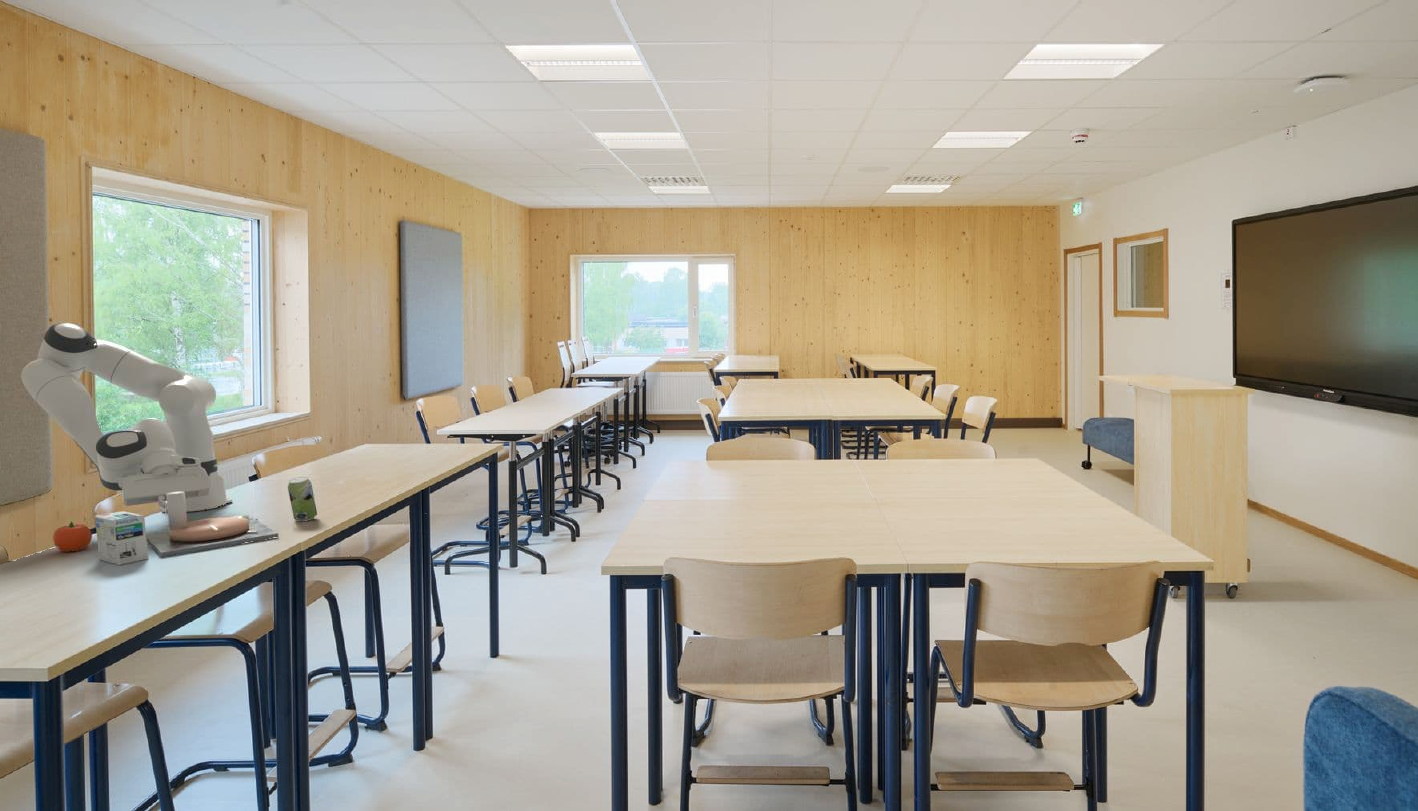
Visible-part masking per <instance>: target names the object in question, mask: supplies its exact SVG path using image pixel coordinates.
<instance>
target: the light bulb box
mask: <svg viewBox="0 0 1418 811" xmlns="http://www.w3.org/2000/svg"><path fill="white" fill-rule="evenodd" d="M94 521H95V528H96V530H95V531H96V538H97V540H96V541H97V547H98V558H99V559H100V560H101V561H104V562H108V563H111V564H114V565H118V566H120V565H125V564H129V563H135V562H138V561H145V560H148V559H149V551H148V543H147V540H146V534H147V533H146V532H147V531H146V522H145V515H144V514H139V513H133V512H129V511H125V510H123V511H121V510H120V511H116V512H110V513H103V514H97V515H94Z"/></svg>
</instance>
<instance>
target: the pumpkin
mask: <svg viewBox="0 0 1418 811" xmlns="http://www.w3.org/2000/svg"><path fill="white" fill-rule="evenodd" d="M92 536H93V535H92V531H91V529H90V528H89V527H88V526H87V525H86V524H77V523H76V524H74V522H72V521H71V522H70V523H69V524H68V525H64V526H61V527H58V528H56V529H55V531H54V533H53V536H52V537H53V538H52V539H53V540H52V541H53V543H54V546H55V547H56V548H57V547H59V548H57V549H58V551H60V552H64V551H67V552H66V553H71V552H70V551H72V552H77V550H79V551H81V549H82V550H84V549H86V548H88V547H89V545H90V544H91V542H92V538H93V537H92Z"/></svg>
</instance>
